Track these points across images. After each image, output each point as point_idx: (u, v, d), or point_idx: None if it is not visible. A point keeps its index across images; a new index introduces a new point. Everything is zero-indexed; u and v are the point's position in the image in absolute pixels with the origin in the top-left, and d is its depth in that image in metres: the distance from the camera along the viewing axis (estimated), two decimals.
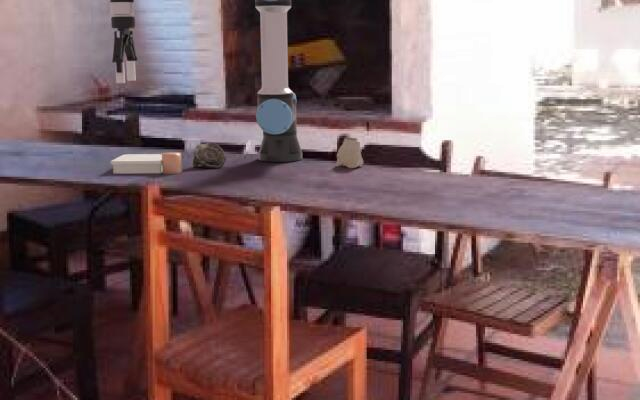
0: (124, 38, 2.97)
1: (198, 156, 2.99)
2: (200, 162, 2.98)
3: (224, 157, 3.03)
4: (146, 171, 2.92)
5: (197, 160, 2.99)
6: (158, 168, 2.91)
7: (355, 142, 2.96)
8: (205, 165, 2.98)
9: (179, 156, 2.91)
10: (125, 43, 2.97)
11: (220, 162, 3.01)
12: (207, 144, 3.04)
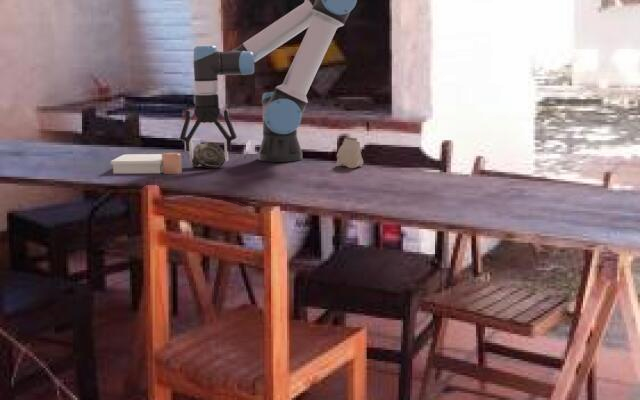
0: (197, 116, 2.99)
1: (197, 156, 2.99)
2: (199, 162, 2.98)
3: (224, 157, 3.03)
4: (146, 171, 2.92)
5: (196, 160, 2.99)
6: (158, 168, 2.91)
7: (355, 142, 2.96)
8: (204, 165, 2.98)
9: (179, 156, 2.91)
10: None
11: (219, 162, 3.01)
12: (207, 144, 3.03)
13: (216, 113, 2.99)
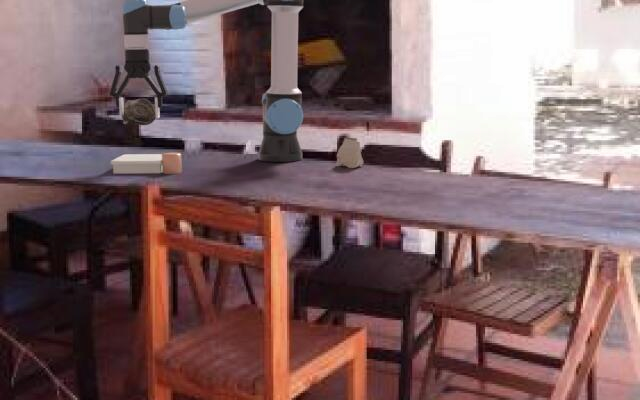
0: (127, 71, 2.93)
1: (127, 112, 2.92)
2: (129, 118, 2.92)
3: (154, 113, 2.96)
4: (146, 171, 2.92)
5: (125, 115, 2.92)
6: (158, 168, 2.91)
7: (355, 142, 2.96)
8: (134, 121, 2.91)
9: (179, 156, 2.91)
10: (125, 77, 2.93)
11: (150, 118, 2.94)
12: (138, 100, 2.97)
13: (146, 68, 2.92)
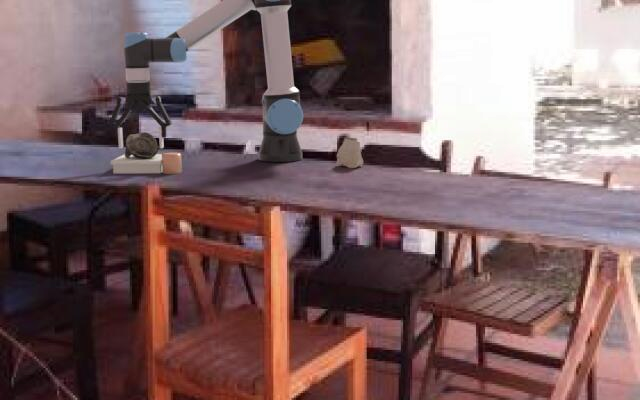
0: (128, 104, 2.95)
1: (129, 146, 2.94)
2: (131, 152, 2.94)
3: (156, 147, 2.98)
4: (146, 171, 2.92)
5: (128, 150, 2.94)
6: (158, 168, 2.91)
7: (355, 142, 2.96)
8: (136, 155, 2.93)
9: (179, 156, 2.91)
10: (126, 109, 2.95)
11: (152, 152, 2.96)
12: (140, 134, 2.99)
13: (148, 101, 2.94)
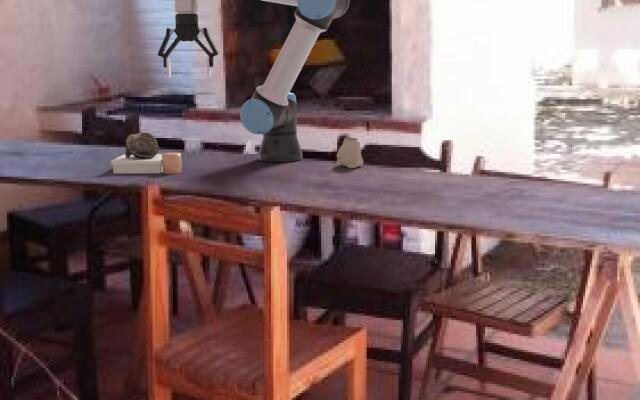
0: (177, 35, 3.08)
1: (129, 146, 2.94)
2: (131, 152, 2.93)
3: (157, 147, 2.98)
4: (146, 171, 2.92)
5: (128, 150, 2.94)
6: (158, 168, 2.91)
7: (355, 142, 2.96)
8: (136, 155, 2.93)
9: (179, 156, 2.91)
10: None
11: (152, 152, 2.96)
12: (140, 134, 2.99)
13: (196, 32, 3.07)
